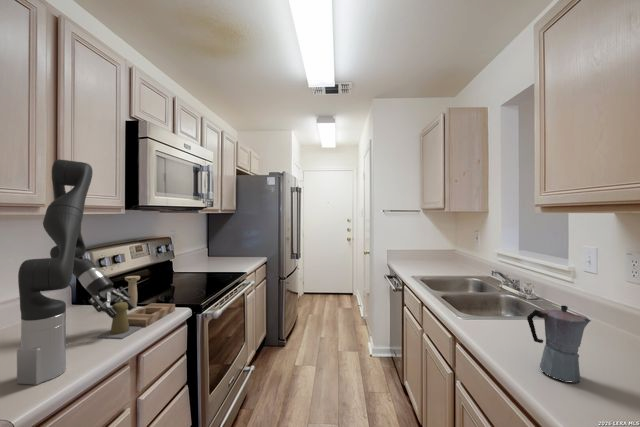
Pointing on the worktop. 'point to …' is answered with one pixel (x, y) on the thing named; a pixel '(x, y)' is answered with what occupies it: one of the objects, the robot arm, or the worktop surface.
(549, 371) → the moka pot
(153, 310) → the wooden compartment tray
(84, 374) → the worktop surface
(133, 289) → the handle
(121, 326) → the cork
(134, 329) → the rubber mat
